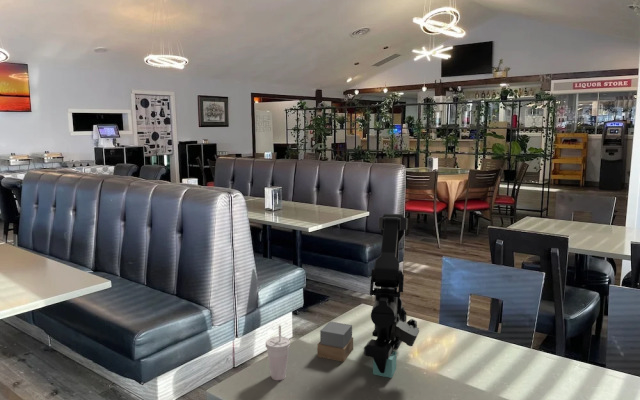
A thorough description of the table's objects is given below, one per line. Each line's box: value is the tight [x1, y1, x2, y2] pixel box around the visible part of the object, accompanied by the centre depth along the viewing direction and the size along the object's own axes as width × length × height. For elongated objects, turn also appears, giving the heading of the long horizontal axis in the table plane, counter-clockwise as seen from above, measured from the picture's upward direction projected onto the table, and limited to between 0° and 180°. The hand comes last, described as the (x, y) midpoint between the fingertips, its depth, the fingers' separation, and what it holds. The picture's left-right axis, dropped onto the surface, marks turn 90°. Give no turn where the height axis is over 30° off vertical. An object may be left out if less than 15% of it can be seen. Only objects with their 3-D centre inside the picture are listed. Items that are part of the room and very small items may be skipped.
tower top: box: [319, 320, 353, 348], centre depth 133 cm, size 7×7×4 cm
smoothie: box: [265, 324, 291, 381], centre depth 120 cm, size 6×6×14 cm
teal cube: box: [372, 350, 398, 379], centre depth 123 cm, size 5×5×5 cm
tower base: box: [316, 336, 354, 363], centre depth 133 cm, size 8×8×4 cm
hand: (384, 367), depth 123 cm, fingers closed on teal cube, 5 cm apart
